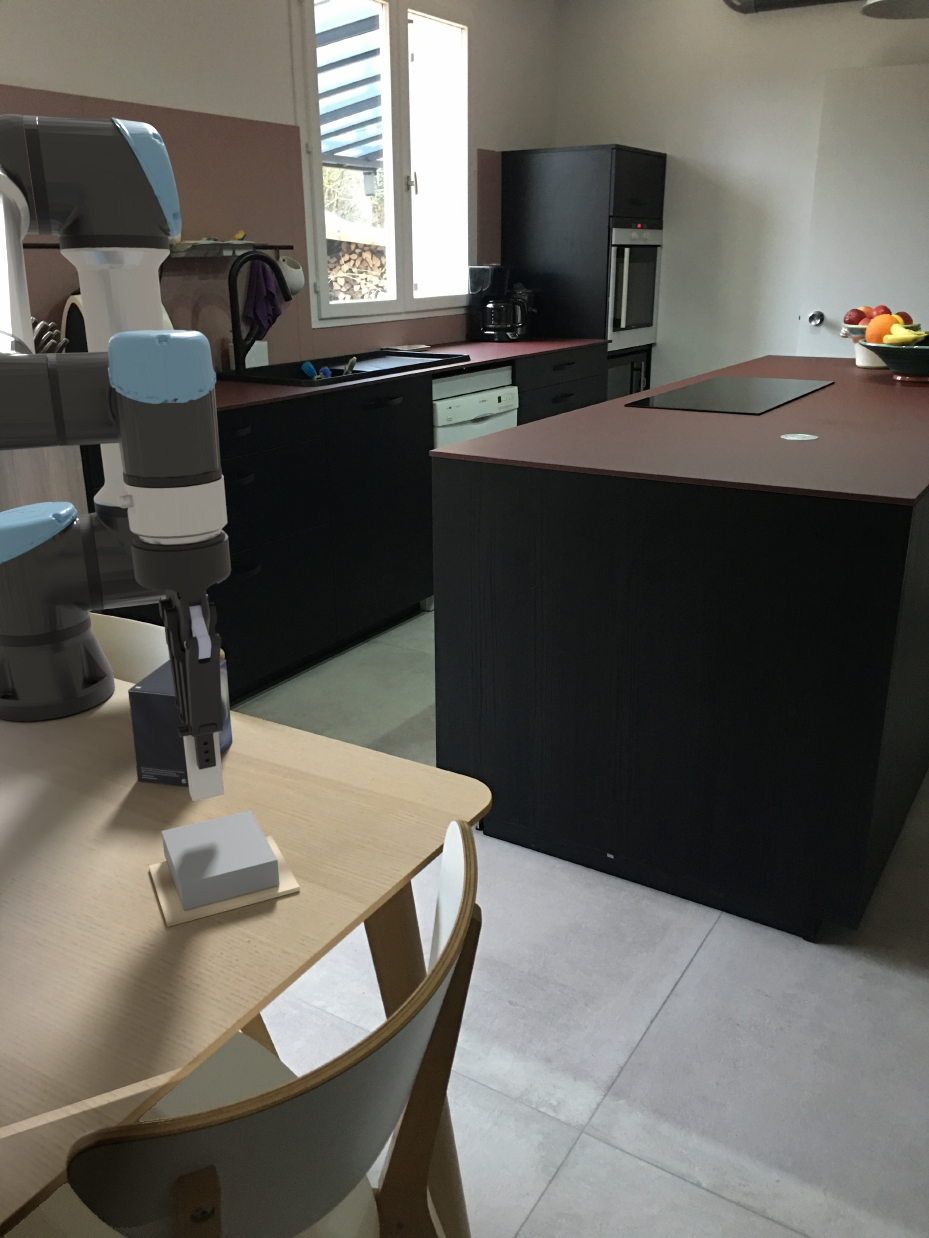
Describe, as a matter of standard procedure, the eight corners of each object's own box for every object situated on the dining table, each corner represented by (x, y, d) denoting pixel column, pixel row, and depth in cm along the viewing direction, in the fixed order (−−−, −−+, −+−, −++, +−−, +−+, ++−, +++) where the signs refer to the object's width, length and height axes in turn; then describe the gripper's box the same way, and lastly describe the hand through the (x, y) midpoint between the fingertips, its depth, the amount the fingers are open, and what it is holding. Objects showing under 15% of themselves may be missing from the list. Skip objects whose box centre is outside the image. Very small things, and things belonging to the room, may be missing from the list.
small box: (193, 789, 99) (183, 695, 96) (135, 783, 101) (122, 690, 97) (236, 744, 109) (228, 656, 106) (183, 739, 110) (173, 652, 107)
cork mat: (149, 869, 86) (148, 865, 86) (271, 839, 90) (271, 835, 90) (167, 926, 78) (166, 922, 78) (299, 890, 83) (299, 886, 83)
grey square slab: (161, 830, 86) (180, 884, 79) (250, 810, 90) (277, 859, 82) (164, 856, 87) (183, 911, 79) (252, 834, 90) (279, 885, 83)
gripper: (119, 520, 82) (150, 771, 89) (143, 557, 71) (177, 840, 78) (209, 511, 85) (232, 754, 92) (245, 545, 74) (268, 818, 81)
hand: (206, 793), depth 85 cm, fingers closed
